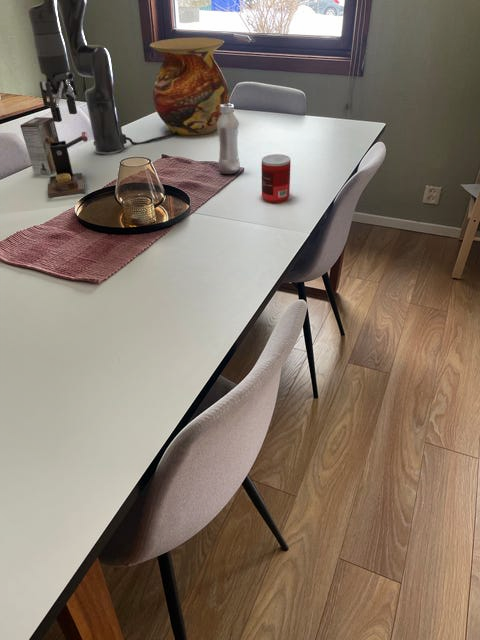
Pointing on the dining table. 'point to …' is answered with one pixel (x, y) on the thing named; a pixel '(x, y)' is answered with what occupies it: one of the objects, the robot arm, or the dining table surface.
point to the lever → (77, 140)
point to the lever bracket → (62, 160)
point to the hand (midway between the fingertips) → (65, 117)
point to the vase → (189, 85)
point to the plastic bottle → (228, 140)
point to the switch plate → (65, 188)
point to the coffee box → (40, 143)
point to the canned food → (275, 178)
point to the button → (63, 178)
